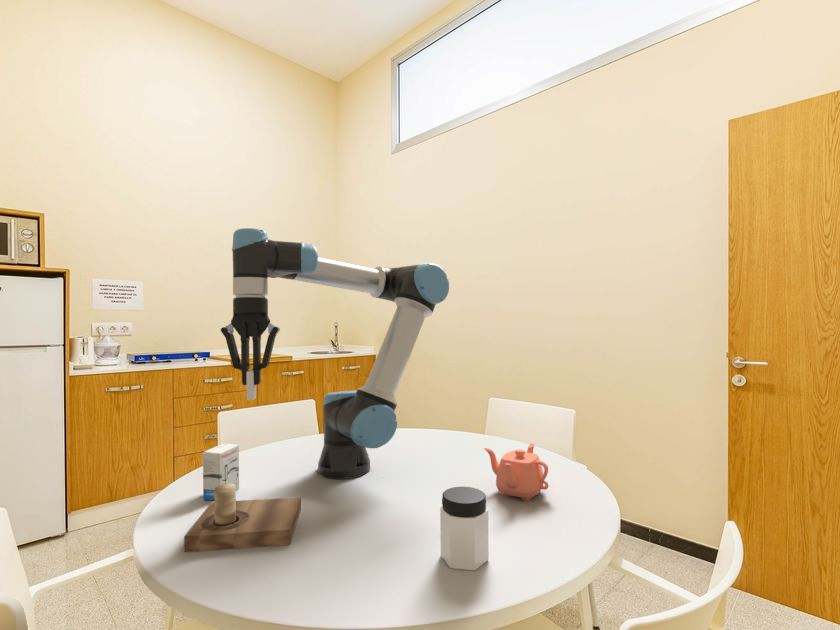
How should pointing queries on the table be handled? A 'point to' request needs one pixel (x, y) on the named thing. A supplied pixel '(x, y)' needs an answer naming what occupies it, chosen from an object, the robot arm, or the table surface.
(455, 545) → the jar
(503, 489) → the teapot
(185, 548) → the board
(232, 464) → the ink box
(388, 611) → the table surface
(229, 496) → the dowel
